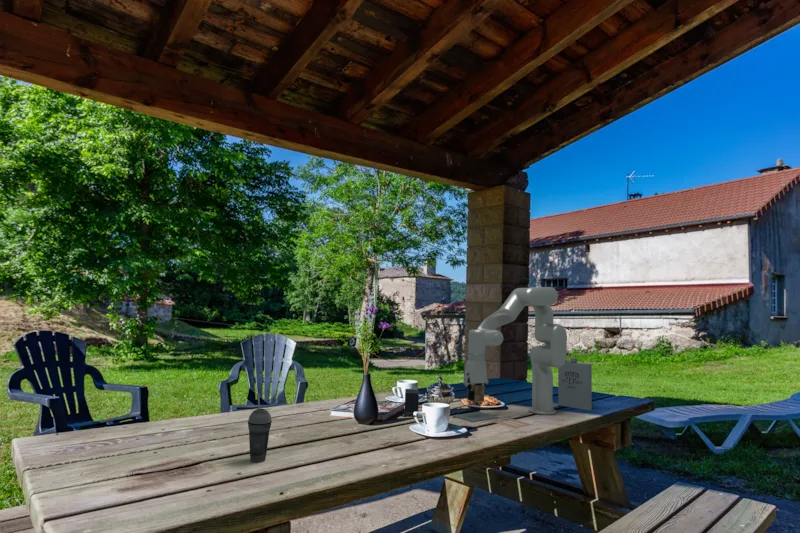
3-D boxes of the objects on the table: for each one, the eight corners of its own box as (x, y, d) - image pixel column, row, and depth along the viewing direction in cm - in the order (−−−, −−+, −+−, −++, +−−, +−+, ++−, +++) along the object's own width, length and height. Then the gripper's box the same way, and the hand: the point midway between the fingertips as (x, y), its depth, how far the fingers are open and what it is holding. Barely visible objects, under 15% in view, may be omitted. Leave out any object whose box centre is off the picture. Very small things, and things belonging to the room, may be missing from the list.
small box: (418, 417, 215) (419, 392, 216) (404, 416, 215) (404, 392, 216) (418, 411, 226) (418, 388, 227) (404, 411, 226) (404, 388, 227)
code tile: (511, 421, 212) (511, 418, 212) (534, 427, 202) (534, 424, 202) (492, 424, 205) (492, 422, 205) (515, 430, 195) (515, 428, 195)
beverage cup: (256, 465, 144) (260, 397, 146) (240, 461, 148) (243, 394, 150) (275, 459, 151) (278, 394, 152) (258, 455, 154) (262, 391, 156)
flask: (556, 404, 253) (556, 356, 255) (560, 403, 256) (560, 355, 258) (588, 410, 240) (588, 359, 242) (592, 409, 243) (592, 358, 245)
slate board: (478, 415, 222) (478, 411, 222) (498, 420, 213) (498, 416, 213) (453, 419, 213) (453, 415, 213) (472, 424, 203) (472, 421, 203)
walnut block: (475, 399, 217) (475, 383, 217) (483, 401, 213) (484, 385, 213) (467, 400, 214) (467, 384, 214) (475, 402, 210) (476, 385, 210)
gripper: (483, 356, 223) (482, 396, 221) (456, 357, 213) (455, 399, 211) (496, 357, 217) (495, 399, 215) (468, 359, 207) (467, 402, 205)
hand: (475, 398), depth 213 cm, fingers closed on walnut block, 5 cm apart
